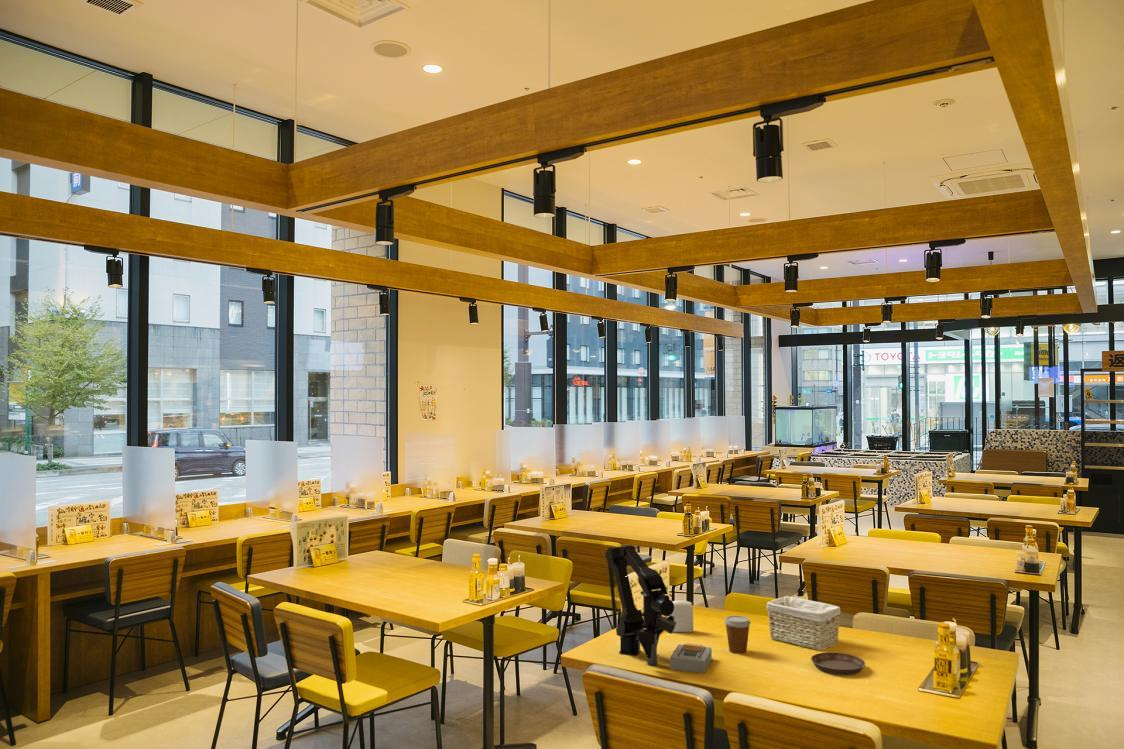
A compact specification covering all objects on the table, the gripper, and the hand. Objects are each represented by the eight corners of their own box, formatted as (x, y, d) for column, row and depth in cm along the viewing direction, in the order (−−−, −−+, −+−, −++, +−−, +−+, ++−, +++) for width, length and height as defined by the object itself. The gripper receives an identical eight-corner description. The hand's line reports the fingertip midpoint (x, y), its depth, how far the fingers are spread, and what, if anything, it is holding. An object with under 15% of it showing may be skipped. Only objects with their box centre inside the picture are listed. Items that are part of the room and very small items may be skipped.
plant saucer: (831, 680, 250) (831, 670, 250) (801, 663, 267) (800, 654, 267) (876, 675, 255) (876, 665, 255) (843, 658, 272) (843, 650, 272)
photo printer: (668, 632, 304) (668, 601, 305) (667, 629, 308) (667, 599, 309) (694, 633, 304) (693, 602, 304) (692, 630, 308) (692, 599, 309)
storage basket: (843, 644, 288) (842, 605, 289) (822, 653, 277) (822, 613, 278) (786, 631, 306) (786, 594, 307) (765, 639, 295) (764, 601, 295)
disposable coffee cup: (751, 656, 274) (751, 622, 275) (724, 654, 276) (724, 621, 277) (750, 648, 284) (749, 616, 284) (724, 646, 286) (724, 614, 286)
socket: (670, 669, 260) (669, 655, 261) (678, 655, 275) (678, 642, 276) (704, 673, 256) (704, 659, 257) (711, 658, 271) (711, 645, 272)
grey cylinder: (646, 665, 264) (646, 639, 265) (648, 662, 268) (648, 636, 268) (655, 666, 263) (655, 640, 264) (657, 663, 266) (657, 637, 267)
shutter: (683, 649, 268) (683, 644, 268) (686, 644, 274) (686, 640, 274) (700, 651, 266) (700, 646, 266) (702, 646, 272) (702, 641, 272)
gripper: (668, 618, 255) (669, 664, 254) (678, 605, 273) (679, 648, 272) (636, 615, 259) (637, 661, 258) (648, 602, 276) (649, 645, 275)
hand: (651, 654), depth 266 cm, fingers open, 9 cm apart
